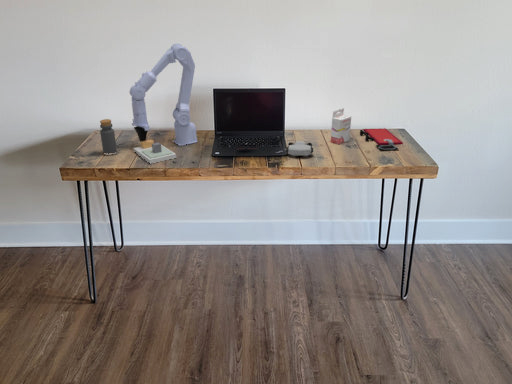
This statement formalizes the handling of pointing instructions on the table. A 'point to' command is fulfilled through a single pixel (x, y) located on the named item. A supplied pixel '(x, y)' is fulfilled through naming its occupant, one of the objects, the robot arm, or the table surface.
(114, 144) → the bottle
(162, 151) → the cover
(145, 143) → the slider
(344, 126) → the ink cartridge box
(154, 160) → the white layered base plate
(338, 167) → the table surface
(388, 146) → the red board with handle
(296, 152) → the robot toy
